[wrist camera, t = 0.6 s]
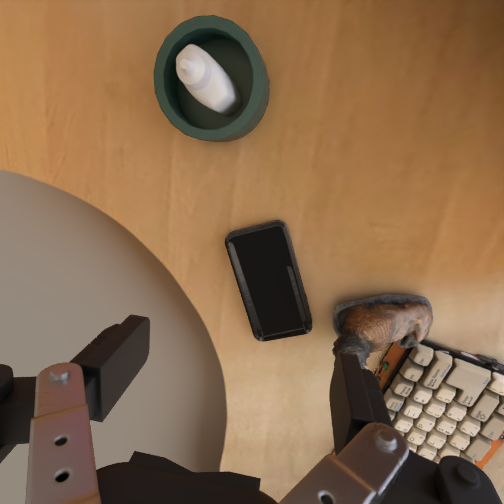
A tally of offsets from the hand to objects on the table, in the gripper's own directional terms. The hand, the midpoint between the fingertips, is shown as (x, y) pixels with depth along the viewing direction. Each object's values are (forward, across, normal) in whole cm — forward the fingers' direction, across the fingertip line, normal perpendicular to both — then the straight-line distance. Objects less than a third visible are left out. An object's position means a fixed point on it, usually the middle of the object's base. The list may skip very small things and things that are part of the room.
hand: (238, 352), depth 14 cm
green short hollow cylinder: (+28, +8, -13) cm, 32 cm away
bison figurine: (+28, -14, +10) cm, 33 cm away
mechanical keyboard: (+28, -22, +32) cm, 48 cm away
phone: (+28, 0, +8) cm, 29 cm away
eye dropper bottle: (+28, +8, -13) cm, 32 cm away
